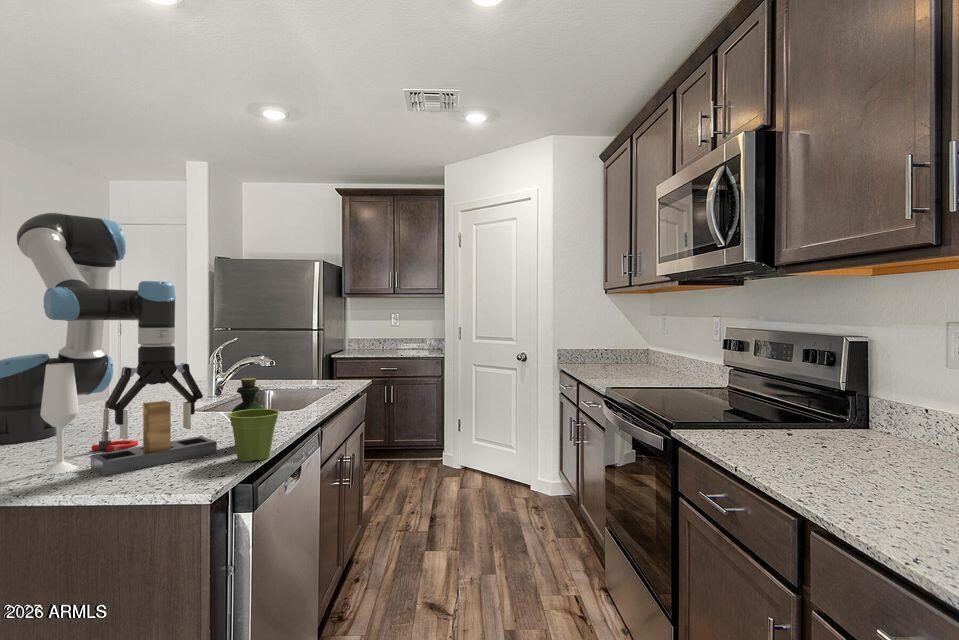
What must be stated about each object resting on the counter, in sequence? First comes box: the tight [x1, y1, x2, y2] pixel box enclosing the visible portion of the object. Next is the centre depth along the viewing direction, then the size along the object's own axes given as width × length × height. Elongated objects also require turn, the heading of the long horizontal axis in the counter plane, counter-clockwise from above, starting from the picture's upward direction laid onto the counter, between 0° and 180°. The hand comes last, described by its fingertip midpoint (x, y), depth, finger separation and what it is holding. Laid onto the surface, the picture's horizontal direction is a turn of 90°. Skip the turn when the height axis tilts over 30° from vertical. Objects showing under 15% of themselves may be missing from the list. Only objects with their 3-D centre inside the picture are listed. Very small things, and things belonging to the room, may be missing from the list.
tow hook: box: [91, 400, 139, 452], centre depth 135 cm, size 8×13×9 cm
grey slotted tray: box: [90, 435, 218, 477], centre depth 123 cm, size 9×24×3 cm, turn 141°
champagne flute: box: [40, 363, 80, 476], centre depth 115 cm, size 7×7×24 cm
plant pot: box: [227, 408, 281, 463], centre depth 125 cm, size 12×12×11 cm
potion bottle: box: [231, 377, 265, 412], centre depth 137 cm, size 8×8×18 cm
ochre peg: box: [142, 400, 172, 452], centre depth 123 cm, size 4×4×14 cm
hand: (156, 433), depth 123 cm, fingers open, 13 cm apart
